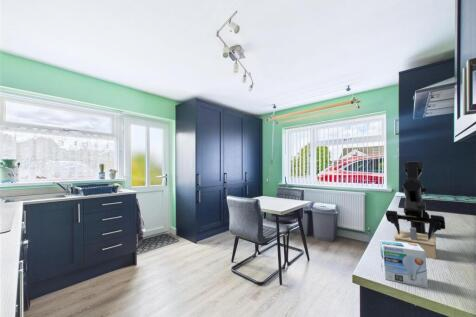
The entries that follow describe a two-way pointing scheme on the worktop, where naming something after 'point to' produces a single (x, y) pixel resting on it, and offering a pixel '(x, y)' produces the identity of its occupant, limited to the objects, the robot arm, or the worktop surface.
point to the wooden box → (429, 249)
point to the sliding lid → (415, 237)
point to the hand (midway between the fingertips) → (413, 236)
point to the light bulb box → (403, 262)
